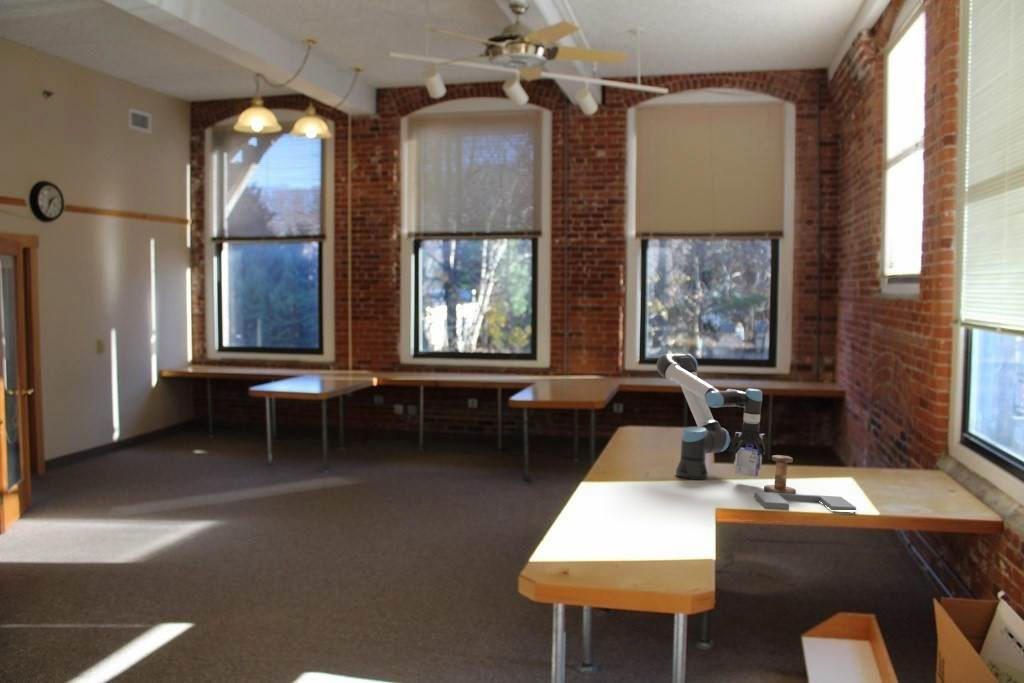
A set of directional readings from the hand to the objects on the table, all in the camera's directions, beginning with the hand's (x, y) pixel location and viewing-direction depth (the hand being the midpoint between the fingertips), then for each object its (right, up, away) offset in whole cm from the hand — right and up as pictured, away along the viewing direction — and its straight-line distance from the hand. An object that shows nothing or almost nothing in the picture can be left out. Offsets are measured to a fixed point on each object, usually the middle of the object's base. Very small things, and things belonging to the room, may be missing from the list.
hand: (747, 468), depth 409 cm
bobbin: (+12, -9, -12) cm, 19 cm away
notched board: (+15, -11, -34) cm, 39 cm away
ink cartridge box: (0, -3, 0) cm, 3 cm away
